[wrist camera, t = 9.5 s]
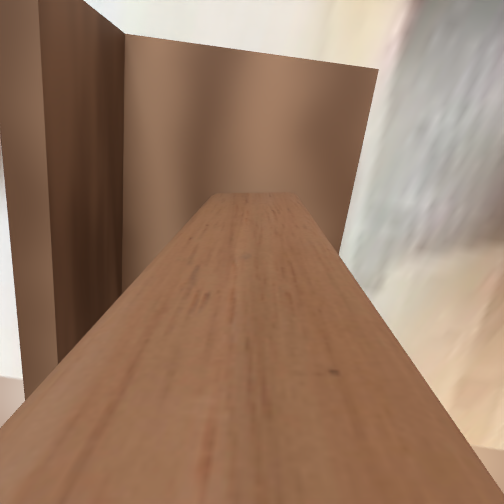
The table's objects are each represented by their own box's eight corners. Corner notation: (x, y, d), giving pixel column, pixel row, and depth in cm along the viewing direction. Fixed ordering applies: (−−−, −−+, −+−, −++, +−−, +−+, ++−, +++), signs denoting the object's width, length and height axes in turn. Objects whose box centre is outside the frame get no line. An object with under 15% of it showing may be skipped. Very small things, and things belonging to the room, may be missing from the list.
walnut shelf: (352, 85, 22) (456, 22, 10) (294, 375, 28) (318, 533, 17) (130, 54, 21) (-17, -46, 10) (125, 355, 28) (34, 501, 17)
